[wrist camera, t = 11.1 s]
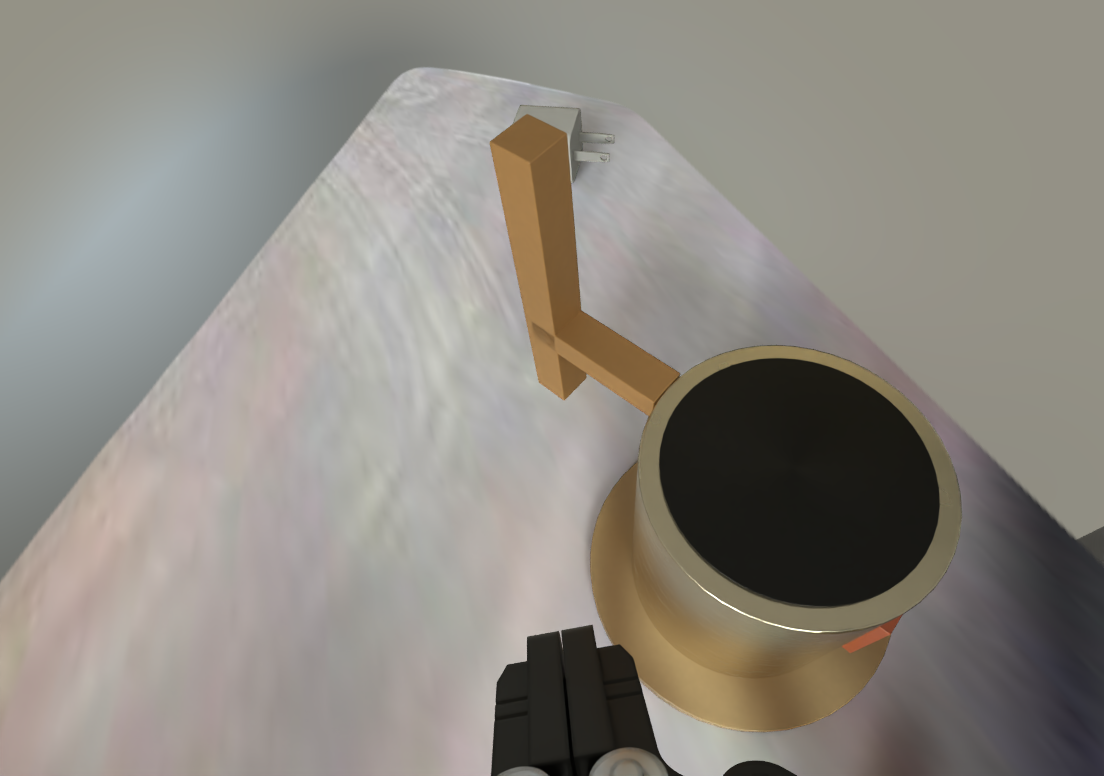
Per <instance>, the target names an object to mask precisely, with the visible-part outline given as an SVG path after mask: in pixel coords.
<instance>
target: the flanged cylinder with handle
mask: <svg viewBox="0 0 1104 776" xmlns="http://www.w3.org/2000/svg"><path fill="white" fill-rule="evenodd" d="M490 147H491V152H492V157H493V162H494V166H495V171H496V176H497V181H498V186H499V191H500V196H501V200H502V205H503V210H504V215H505V220H506V225H507V230H508V235H509V239H510V244H511V249H512V254H513V259H514V264H515V269H516V273H517V278H518V283H519V288H520V293H521V298H522V303H523V308H524V312H525V317H526V322H527V327H528V332H529V337H530V342H531V346H532V351H533V356H534V361H535V366H536V371H537V376H538V381H539V383H540V384H542V385H543V386H545V387H546V388H547V389H549V390H550V391H551V392H553V393H554V394H556V395H557V396H558V397H560V398H561V399H563V400H565V399H566V398H567V397H568V396H569V395H570V394H571V393H572V392H573V391H574V390H575V389H576V388H577V387H578V386H579V385H580V384H581V383H582V382H583V381H584V380H585V379H586V373H587V374H588V375H590V376H591V377H593V378H594V379H596V380H597V381H598V382H600V383H601V384H603V385H604V386H606V387H607V388H609V389H610V390H612V391H613V392H614V393H616V394H617V395H619V396H620V397H622V398H623V399H625V400H626V401H628V402H629V403H630V404H632V405H633V406H635V407H636V408H638V409H639V410H641V411H642V412H644V413H645V414H646V415H648V416H649V417H648V420H647V422H646V425H645V427H644V430H643V433H642V437H641V442H640V446H639V455H638V468H637V483H636V497H635V512H634V526H633V541H632V555H631V561H632V574H633V579H634V584H635V588H636V591H637V594H638V597H639V600H640V602H641V604H642V606H643V608H644V610H645V613H646V614H647V616H648V617H649V619H650V621H651V622H652V624H653V625H654V627H655V628H656V629H657V630H658V631H659V633H660V634H661V635H662V636H663V638H664V639H665V640H667V641H668V642H669V643H670V644H671V645H672V646H673V647H674V648H675V649H676V650H677V651H679V652H680V653H681V654H683V655H684V656H685V657H687V658H688V659H690V660H692V661H693V662H695V663H697V664H699V665H700V666H703V667H705V668H707V669H710V670H712V671H714V672H717V673H721V674H724V675H728V676H732V677H739V678H746V679H762V678H769V677H776V676H780V675H783V674H786V673H790V672H792V671H795V670H797V669H799V668H801V667H803V666H805V665H807V664H809V663H811V662H813V661H815V660H816V659H818V658H820V657H822V656H824V655H826V654H828V653H830V652H832V651H834V650H836V649H838V648H840V647H841V646H842V647H843V648H844V649H845V650H847V651H848V652H849V653H852V652H855V651H857V650H859V649H861V648H863V647H865V646H867V645H869V644H872V643H874V642H876V641H878V640H880V639H882V638H884V637H886V636H889V635H891V633H892V631H893V630H894V628H895V626H896V625H897V623H898V621H899V620H900V618H901V616H902V615H903V614H904V613H906V612H907V611H909V610H910V609H911V608H913V607H914V606H916V605H917V604H919V603H920V602H921V601H922V600H923V599H924V598H925V597H926V596H927V595H928V594H929V593H930V592H931V591H932V590H933V589H934V588H935V587H936V585H937V584H938V583H939V581H940V580H941V578H942V577H943V576H944V574H945V573H946V571H947V569H948V567H949V565H950V563H951V561H952V558H953V556H954V554H955V551H956V547H957V544H958V540H959V536H960V528H961V519H962V509H961V494H960V489H959V484H958V480H957V475H956V472H955V470H954V467H953V464H952V461H951V458H950V456H949V454H948V452H947V450H946V448H945V446H944V444H943V442H942V440H941V439H940V437H939V436H938V434H937V433H936V431H935V430H934V428H933V427H932V425H931V424H930V422H929V421H928V420H927V419H926V418H925V416H924V415H923V414H922V413H921V412H920V411H919V409H918V408H917V407H916V406H915V405H914V404H913V403H912V402H911V401H910V400H909V399H908V398H906V397H905V396H904V395H903V394H902V393H901V392H900V391H898V390H897V389H896V388H895V387H893V386H892V385H891V384H889V383H888V382H887V381H885V380H884V379H882V378H881V377H879V376H877V375H876V374H874V373H872V372H871V371H869V370H867V369H865V368H863V367H861V366H859V365H857V364H855V363H853V362H851V361H849V360H846V359H843V358H841V357H838V356H835V355H833V354H829V353H825V352H821V351H818V350H814V349H808V348H802V347H796V346H782V345H767V346H754V347H747V348H740V349H737V350H733V351H729V352H725V353H722V354H720V355H717V356H715V357H712V358H710V359H707V360H705V361H704V362H702V363H700V364H698V365H696V366H695V367H693V368H691V369H690V370H689V371H687V372H686V373H685V374H683V375H682V376H680V373H679V372H677V371H676V370H674V369H673V368H671V367H669V366H668V365H666V364H665V363H663V362H662V361H660V360H658V359H657V358H655V357H654V356H652V355H651V354H649V353H647V352H646V351H644V350H643V349H641V348H639V347H638V346H636V345H635V344H633V343H632V342H630V341H628V340H627V339H625V338H624V337H622V336H621V335H619V334H617V333H616V332H614V331H613V330H611V329H610V328H608V327H606V326H605V325H603V324H602V323H600V322H599V321H597V320H595V319H594V318H592V317H591V316H589V315H588V314H586V313H584V312H583V311H581V302H580V289H579V277H578V264H577V252H576V239H575V226H574V214H573V201H572V189H571V176H570V163H569V151H568V138H567V133H566V132H564V131H562V130H560V129H558V128H556V127H554V126H551V125H549V124H547V123H545V122H543V121H541V120H539V119H537V118H535V117H533V116H531V115H529V114H526V115H524V116H523V117H522V118H520V119H519V120H518V121H516V122H515V123H514V124H512V125H511V126H510V127H508V128H507V129H506V130H505V131H503V132H502V133H501V134H499V135H498V136H497V137H495V138H494V139H493V140H491V141H490ZM679 376H680V377H679Z"/></svg>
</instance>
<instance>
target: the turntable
mask: <svg viewBox="0 0 1104 776" xmlns="http://www.w3.org/2000/svg"><path fill="white" fill-rule="evenodd" d="M637 468H638V462H637V463H635V464H634V465H633V466H632V467H631V468H630V469H629V470H628V471H627V472H626V473H625V474H624V475H623V476H622V477H621V478H620V480H619V481H618V482H617V483H616V485H615V486H614V487H613V489H612V490H611V492H610V494H609V495H608V497H607V499H606V500H605V502H604V504H603V506H602V509H601V511H600V513H599V516H598V518H597V522H596V525H595V529H594V533H593V538H592V545H591V552H590V573H591V581H592V589H593V595H594V599H595V603H596V607H597V611H598V614H599V617H600V619H601V622H602V624H603V627H604V630H605V632H606V634H607V636H608V638H609V639H610V641H611V643H612V645H618V644H620V645H621V646H622V647H623V648H624V649H625V650H626V651H627V652H628V653H629V654H630V655H631V656H632V657H633V658H634V662H635V666H636V669H637V673H638V677H639V680H640V681H641V683H642V684H643V685H645V686H646V687H647V688H648V689H649V690H651V691H652V692H653V693H654V694H655V695H656V696H658V697H659V698H660V699H662V700H663V701H665V702H666V703H668V704H669V705H671V706H672V707H674V708H675V709H677V710H678V711H680V712H682V713H685V714H687V715H689V716H691V717H693V718H695V719H697V720H699V721H702V722H705V723H708V724H711V725H714V726H717V727H720V728H726V729H731V730H737V731H742V732H773V731H782V730H789V729H793V728H796V727H800V726H804V725H808V724H811V723H813V722H815V721H818V720H820V719H822V718H824V717H827V716H829V715H831V714H832V713H834V712H835V711H837V710H838V709H840V708H841V707H843V706H844V705H846V704H847V703H848V702H849V701H850V700H851V699H853V698H854V697H855V696H856V695H857V694H858V693H859V692H860V691H861V690H862V689H863V688H864V686H865V685H866V684H867V683H868V681H869V680H870V679H871V677H872V676H873V675H874V673H875V672H876V670H877V668H878V666H879V664H880V662H881V660H882V658H883V657H884V654H885V651H886V648H887V645H888V643H889V640H890V637H891V635H889V636H886V637H884V638H882V639H880V640H878V641H876V642H874V643H872V644H869V645H867V646H865V647H863V648H861V649H859V650H857V651H855V652H852V653H849V652H848V651H847V650H845V649H844V648H843V647H842V646H841V647H840V648H838V649H836V650H834V651H832V652H830V653H828V654H826V655H824V656H822V657H820V658H818V659H816V660H815V661H813V662H811V663H809V664H807V665H805V666H803V667H801V668H799V669H797V670H795V671H792V672H790V673H786V674H783V675H780V676H776V677H769V678H762V679H746V678H739V677H732V676H728V675H724V674H721V673H717V672H714V671H712V670H710V669H707V668H705V667H703V666H700V665H699V664H697V663H695V662H693V661H692V660H690V659H688V658H687V657H685V656H684V655H683V654H681V653H680V652H679V651H677V650H676V649H675V648H674V647H673V646H672V645H671V644H670V643H669V642H668V641H667V640H665V639H664V638H663V636H662V635H661V634H660V633H659V631H658V630H657V629H656V628H655V627H654V625H653V624H652V622H651V621H650V619H649V617H648V616H647V614H646V613H645V610H644V608H643V606H642V604H641V602H640V600H639V597H638V594H637V591H636V588H635V584H634V579H633V574H632V561H631V555H632V541H633V526H634V512H635V497H636V483H637Z"/></svg>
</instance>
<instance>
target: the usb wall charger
mask: <svg viewBox="0 0 1104 776" xmlns="http://www.w3.org/2000/svg"><path fill="white" fill-rule="evenodd" d="M526 114H529V115H531V116H533V117H535V118H537V119H539V120H541V121H543V122H545V123H547V124H549V125H551V126H554V127H556V128H558V129H560V130H562V131H564V132H566V133H567V138H568V151H569V163H570V176H571V182H572V183H573V182H574V181H575V177H576V174H577V170H578V167H579V163H580V161H589V162H610V154H609V153H602V152H591V151H582V149H583V142H587V143H601V144H613V143H614V135H611V134H603V133H588V132H582V123H581V110H580V108H564V107H547V106H529V105H520V107H519V109H518V112H517V114H516V117H515V119H514V122H513V124H514V123H515V122H516V121H518V120H519V119H520V118H522V117H523V116H524V115H526ZM606 137H611V138H612V140H611V141H607V140H606ZM602 155H605V156H606V157H607V159H605V160H603V159H602V158H601V156H602Z"/></svg>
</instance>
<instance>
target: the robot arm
mask: <svg viewBox="0 0 1104 776" xmlns="http://www.w3.org/2000/svg"><path fill="white" fill-rule="evenodd" d="M561 633H562V643H561V638H560V633H559V631H556V632H551V633H545V634H540V635H534V636H529V637H527V661H525V662H520V663H514V664H509V665H507V666H506V668H505V669H504V671H503V673H502V675H501V676H500V678H499V680H498V682H497V688H496V705H495V721H494V737H493V753H492V770H491V776H683V775H681V774H679V773H677V772H676V771H674V770H673V769H672V768H670V767H669V766H668V765H667V764H666V763H665V761H664V760H663V759H662V757H661V755H660V753H659V751H658V748H657V744H656V740H655V737H654V733H653V729H652V725H651V722H650V718H649V714H648V710H647V707H646V703H645V699H644V696H643V692H642V688H641V684H640V681H639V677H638V673H637V669H636V666H635V662H634V658H633V657H632V656H631V655H630V654H629V653H628V652H627V651H626V650H625V649H624V648H623V647H622V646H621V645H620V644H618V645H613V646H607V647H602V648H597V647H596V641H595V636H594V630H593V625H588V626H583V627H577V628H572V629H566V630H561ZM562 644H563V648H562ZM723 776H797V775H795V774H793V773H791V772H790V771H788V770H786V769H785V768H783V767H781V766H779V765H776V764H773V763H770V762H765V761H746V762H742V763H739V764H737V765H735V766H733V767H731V768H730V769H729V770H728V771H727V772H725V774H724V775H723Z"/></svg>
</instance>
